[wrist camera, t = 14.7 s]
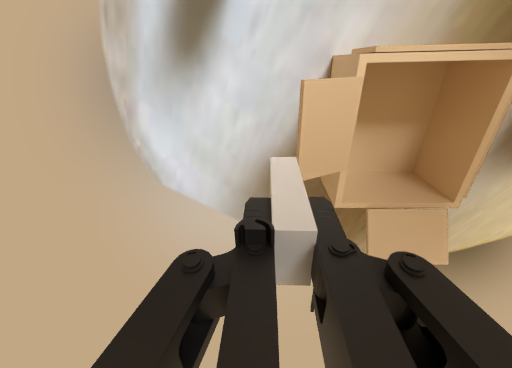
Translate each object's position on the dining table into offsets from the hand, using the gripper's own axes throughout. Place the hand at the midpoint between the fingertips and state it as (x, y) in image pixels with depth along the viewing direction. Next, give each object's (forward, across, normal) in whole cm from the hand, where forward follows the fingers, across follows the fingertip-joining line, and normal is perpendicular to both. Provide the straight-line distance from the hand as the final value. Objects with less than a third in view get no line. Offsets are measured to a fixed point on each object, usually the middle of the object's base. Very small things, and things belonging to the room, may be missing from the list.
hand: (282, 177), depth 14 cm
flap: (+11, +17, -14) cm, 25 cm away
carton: (+24, +16, -2) cm, 29 cm away
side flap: (+11, +5, 0) cm, 12 cm away
